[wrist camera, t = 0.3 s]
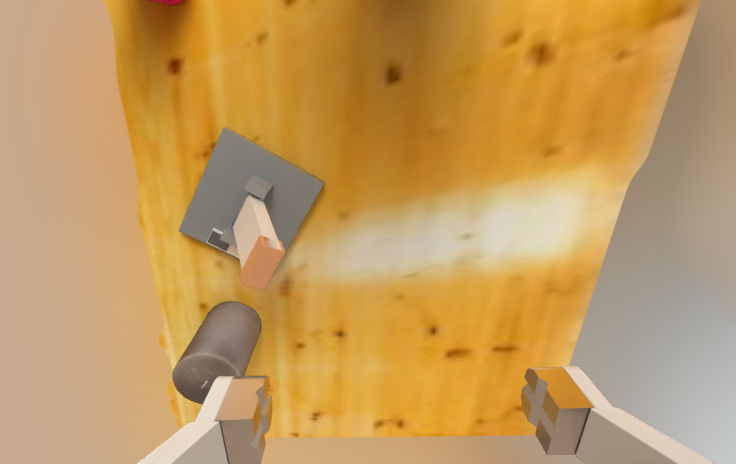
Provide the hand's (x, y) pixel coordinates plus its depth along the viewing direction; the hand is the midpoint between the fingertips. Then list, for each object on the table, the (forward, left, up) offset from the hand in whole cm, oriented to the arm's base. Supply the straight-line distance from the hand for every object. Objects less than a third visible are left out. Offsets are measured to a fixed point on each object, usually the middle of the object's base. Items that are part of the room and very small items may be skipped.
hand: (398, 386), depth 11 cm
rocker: (+11, -16, -43) cm, 47 cm away
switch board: (+11, -15, -45) cm, 49 cm away
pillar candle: (+34, -16, -45) cm, 59 cm away
